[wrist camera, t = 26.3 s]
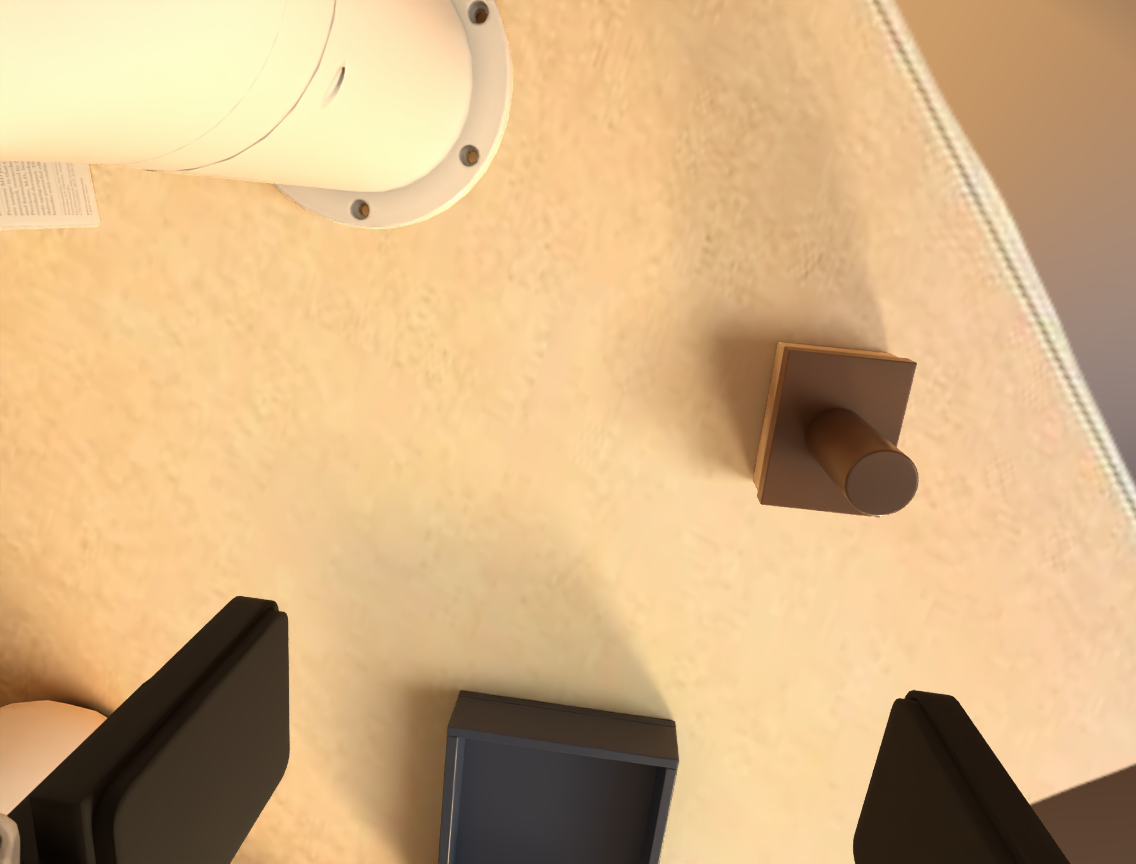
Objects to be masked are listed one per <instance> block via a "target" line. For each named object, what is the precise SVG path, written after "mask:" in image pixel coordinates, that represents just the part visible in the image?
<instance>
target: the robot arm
mask: <svg viewBox="0 0 1136 864" xmlns="http://www.w3.org/2000/svg"><path fill="white" fill-rule="evenodd" d="M482 11H484V12H486V13H487V18H486V20H485V21H484V22H483V23H479V22H477V20H476V17H477V14H478V13H479V12H482ZM512 95H513V62H512V57H511V51H510V46H509V40H508V35H507V30H506V28H505V25H504V22H503V19H502V17H501V14H500V11H499V8H498V6H497V3H496V1H495V0H0V161H35V162H65V163H79V164H91V165H104V166H114V167H125V168H135V169H143V170H147V171H155V172H165V173H175V174H185V175H195V176H205V177H215V178H225V179H235V180H245V181H255V182H265V183H272V184H273V185H274V186H275V187H276V188H277V189H278V190H279V191H280V192H281V193H283V194H284V195H286V196H287V197H288V198H290V199H291V200H292V201H294V202H295V203H296V204H298V205H299V206H301V207H302V208H303V209H305V210H307V211H310V212H312V213H314V214H316V215H318V216H320V217H322V218H324V219H326V220H328V221H332V222H336V223H339V224H343V225H347V226H351V227H357V228H372V229H386V228H398V227H403V226H407V225H411V224H415V223H419V222H423V221H425V220H427V219H429V218H431V217H433V216H435V215H437V214H439V213H441V212H444V211H446V210H447V209H448V208H450V207H451V206H452V205H453V204H455V203H456V202H457V201H459V200H460V199H461V198H463V197H464V196H465V195H466V194H467V193H468V192H469V191H470V190H471V189H472V188H473V186H474V185H475V184H476V183H477V182H478V181H479V180H480V178H481V177H482V176H483V175H484V174H485V172H486V170H487V168H488V167H489V165H490V163H491V162H492V160H493V158H494V156H495V155H496V153H497V151H498V149H499V146H500V144H501V141H502V138H503V135H504V132H505V130H506V127H507V124H508V119H509V113H510V107H511V101H512ZM471 151H475V152H476V153H477V156H478V158H477V161H476V162H475V163H470V162H469V161H468V154H469V153H470V152H471ZM364 204H367V205H368V207H369V214H368V215H367V216H366V215H364V214H363V213H362V206H363V205H364ZM289 752H290V742H289V653H288V616H287V614H286V613H285V612H281V611H279V610H278V606H277V603H276V602H275V601H272V600H265V599H258V598H251V597H243V596H237V597H235V598H233V599H232V600H231V601H230V602H229V603H228V604H227V605H226V606H225V607H224V608H223V609H222V610H221V611H220V612H219V613H217V614H216V615H215V616H214V617H213V618H212V619H211V620H210V621H209V622H208V623H207V624H206V625H205V626H204V627H203V628H202V629H201V630H200V631H199V632H198V633H197V634H196V635H195V636H194V637H193V638H192V639H191V640H190V641H189V642H188V643H187V644H186V645H185V646H183V647H182V648H181V649H180V650H179V651H178V652H177V653H176V654H175V655H174V656H173V657H172V658H171V659H170V660H169V661H168V662H167V663H166V664H165V665H164V666H163V667H162V668H161V669H160V670H159V671H158V672H157V673H156V674H155V675H154V676H153V677H151V678H150V679H149V680H147V681H146V682H145V683H143V684H142V685H141V686H140V687H139V688H138V689H137V690H136V691H135V692H134V693H133V694H132V695H131V696H130V697H129V698H128V699H127V700H126V701H125V702H124V703H123V704H122V705H121V706H120V707H118V708H117V709H116V710H115V711H114V712H113V713H112V714H111V715H110V716H109V717H108V718H107V719H106V720H105V721H104V722H103V723H102V724H101V725H100V726H99V727H98V728H97V729H96V730H95V731H94V732H93V733H92V734H91V735H89V736H88V737H87V738H86V739H85V740H84V741H83V742H82V743H81V744H80V745H79V746H78V747H77V748H76V749H75V750H74V751H73V752H72V753H71V754H70V755H69V756H68V757H67V758H66V759H65V760H64V761H63V762H62V763H61V764H59V765H58V766H57V767H56V768H55V769H54V770H53V771H52V772H51V773H50V774H49V775H48V776H47V777H46V778H45V779H44V780H43V781H42V782H41V783H40V784H39V785H38V786H37V787H36V788H35V789H34V790H33V791H32V792H31V793H29V794H28V795H27V796H26V797H25V798H24V799H23V800H22V801H21V802H20V803H19V804H18V805H17V806H16V807H15V808H14V809H13V810H12V811H11V812H10V813H9V814H8V815H5V814H2V813H0V864H230V862H231V861H232V859H233V858H234V856H235V854H236V853H237V851H238V849H239V848H240V846H241V845H242V843H243V841H244V840H245V838H246V836H247V835H248V833H249V831H250V830H251V828H252V827H253V825H254V823H255V822H256V820H257V818H258V817H259V815H260V813H261V812H262V810H263V809H264V807H265V805H266V804H267V802H268V800H269V799H270V797H271V796H272V794H273V792H274V791H275V789H276V787H277V786H278V784H279V782H280V781H281V779H282V777H283V775H284V773H285V770H286V767H287V764H288V760H289ZM853 854H854V860H855V864H1070V863H1069V861H1068V860H1067V858H1066V857H1065V855H1064V854H1063V853H1062V851H1061V850H1060V848H1059V847H1058V845H1057V844H1056V842H1055V841H1054V839H1053V838H1052V837H1051V835H1050V834H1049V832H1048V831H1047V830H1046V828H1045V826H1044V825H1043V824H1042V822H1041V821H1040V819H1039V818H1038V816H1037V815H1036V813H1035V812H1034V811H1033V809H1032V808H1031V806H1030V805H1029V803H1028V802H1027V800H1026V799H1025V797H1024V796H1023V795H1022V793H1021V792H1020V790H1019V789H1018V787H1017V786H1016V784H1015V783H1014V782H1013V780H1012V779H1011V777H1010V776H1009V774H1008V773H1007V771H1006V770H1005V768H1004V767H1003V766H1002V764H1001V763H1000V761H999V760H998V758H997V757H996V755H995V754H994V753H993V751H992V750H991V748H990V747H989V745H988V744H987V742H986V741H985V740H984V738H983V737H982V735H981V734H980V732H979V731H978V729H977V728H976V726H975V725H974V724H973V722H972V721H971V719H970V718H969V716H968V715H967V713H966V712H965V711H964V709H963V708H962V706H961V705H960V703H959V702H958V701H957V700H956V699H955V698H954V697H953V696H950V695H944V694H937V693H930V692H923V691H916V690H912V691H909V692H908V694H907V695H906V697H905V699H901V698H899V699H896V700H895V702H894V703H893V706H892V709H891V712H890V716H889V719H888V722H887V726H886V729H885V733H884V736H883V739H882V743H881V746H880V750H879V753H878V756H877V760H876V763H875V767H874V770H873V773H872V777H871V780H870V784H869V787H868V790H867V794H866V797H865V801H864V804H863V807H862V811H861V814H860V818H859V821H858V824H857V828H856V831H855V835H854V840H853Z"/></svg>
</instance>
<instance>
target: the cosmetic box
mask: <svg viewBox="0 0 1136 864" xmlns="http://www.w3.org/2000/svg"><path fill="white" fill-rule="evenodd" d="M99 224H100V217H99V213H98V208H97V203H96V198H95V193H94V188H93V183H92V178H91V172H90V167H89V164H79V163H65V162H35V161H0V230H16V229H40V228H74V227H97V226H99Z"/></svg>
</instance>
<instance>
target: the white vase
mask: <svg viewBox="0 0 1136 864" xmlns="http://www.w3.org/2000/svg"><path fill="white" fill-rule="evenodd" d="M106 719H107V717H105V716H103V715H102V714H100V713H99V712H97V711H94V710H90V709H86V708H82V707H78V706H74V705H70V704H66V703H61V702H55V701H50V700H43V701H32V702H22V703H12V704H9V705H6V706H3V707H0V813H2V814H5V815H8V814H9V813H10V812H11V811H12V810H13V809H14V808H15V807H16V806H17V805H18V804H19V803H20V802H21V801H22V800H23V799H24V798H25V797H26V796H27V795H28V794H29V793H31V792H32V791H33V790H34V789H35V788H36V787H37V786H38V785H39V784H40V783H41V782H42V781H43V780H44V779H45V778H46V777H47V776H48V775H49V774H50V773H51V772H52V771H53V770H54V769H55V768H56V767H57V766H58V765H59V764H61V763H62V762H63V761H64V760H65V759H66V758H67V757H68V756H69V755H70V754H71V753H72V752H73V751H74V750H75V749H76V748H77V747H78V746H79V745H80V744H81V743H82V742H83V741H84V740H85V739H86V738H87V737H88V736H89V735H91V734H92V733H93V732H94V731H95V730H96V729H97V728H98V727H99V726H100V725H101V724H102V723H103V722H104V721H105V720H106Z"/></svg>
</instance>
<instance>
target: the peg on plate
mask: <svg viewBox="0 0 1136 864" xmlns="http://www.w3.org/2000/svg"><path fill="white" fill-rule="evenodd" d="M916 365H917V363H916V362H914V361H912V360H909V359H907V358H898V357H896V356H894V355H892V354H890V353H883V352H873V351H864V350H854V349H844V348H834V347H824V346H815V345H805V344H795V343H785V342H778V344H777V350H776V355H775V361H774V366H773V372H772V378H771V383H770V389H769V394H768V400H767V405H766V411H765V416H764V422H763V427H762V433H761V439H760V444H759V450H758V455H757V461H756V466H755V472H754V477H753V482H754V484H755V486H756V488H757V490H758V493H757V497H758V499H759V502H760V504H762V505H771V506H780V507H789V508H798V509H806V510H815V511H824V512H833V513H842V514H851V515H860V516H869V517H878V518H879V517H880V516H884V515H889V514H893V513H895V512H897V511H899V510H901V509H902V508H904V507H905V506H906V505H907V504H908V503H909V502H910V501H911V500H912V498H913V497H914V495H915V493H916V490H917V487H918V472H917V469H916V467H915V465H914V463H913V462H912V461H911V459H910V458H908V457H907V456H906V455H905V454H904V453H903V452H901V451H900V450H899V449H898V448H897V443H898V439H899V435H900V431H901V427H902V423H903V419H904V414H905V410H906V406H907V402H908V398H909V394H910V390H911V385H912V381H913V377H914V373H915V369H916Z"/></svg>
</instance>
